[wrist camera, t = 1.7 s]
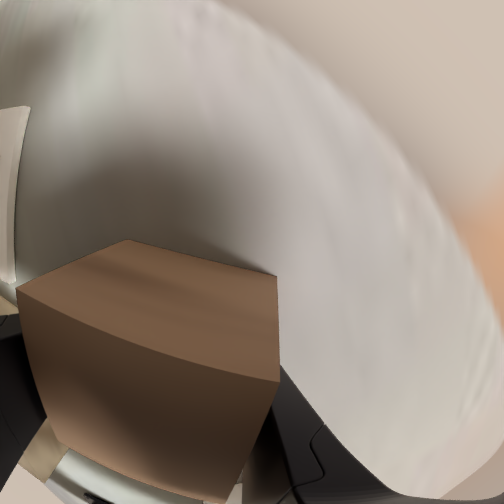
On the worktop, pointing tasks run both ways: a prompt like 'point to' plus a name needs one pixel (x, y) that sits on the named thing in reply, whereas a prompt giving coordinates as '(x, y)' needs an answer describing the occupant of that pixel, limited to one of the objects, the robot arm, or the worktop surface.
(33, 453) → the birch plinth
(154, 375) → the walnut cube
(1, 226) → the card
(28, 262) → the worktop surface
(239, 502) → the decorative container
